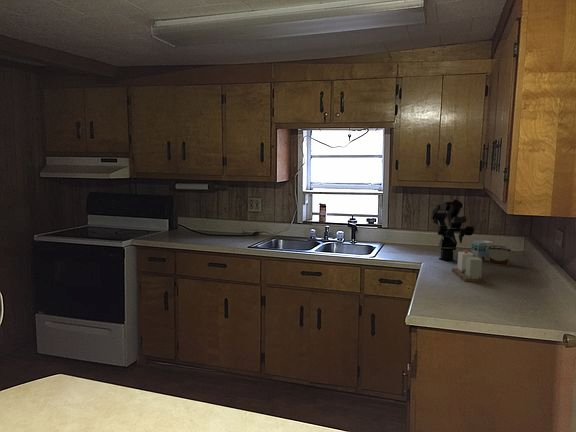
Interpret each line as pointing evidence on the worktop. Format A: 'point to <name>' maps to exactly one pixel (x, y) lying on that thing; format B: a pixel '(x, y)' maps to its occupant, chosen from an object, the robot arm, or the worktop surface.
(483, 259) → the light bulb box
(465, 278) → the rail board
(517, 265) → the worktop surface
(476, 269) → the block
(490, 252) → the food container
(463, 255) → the block
